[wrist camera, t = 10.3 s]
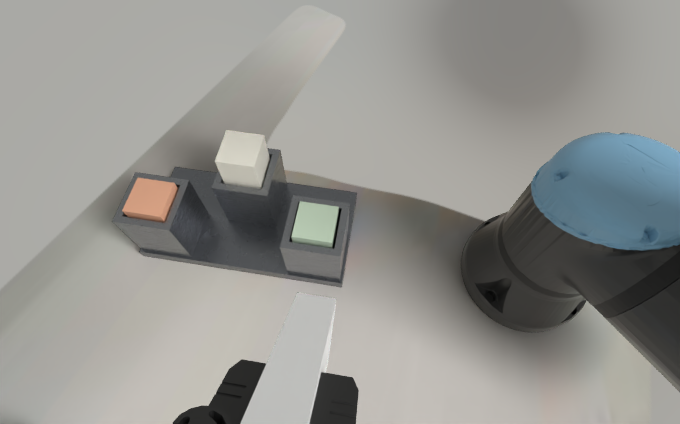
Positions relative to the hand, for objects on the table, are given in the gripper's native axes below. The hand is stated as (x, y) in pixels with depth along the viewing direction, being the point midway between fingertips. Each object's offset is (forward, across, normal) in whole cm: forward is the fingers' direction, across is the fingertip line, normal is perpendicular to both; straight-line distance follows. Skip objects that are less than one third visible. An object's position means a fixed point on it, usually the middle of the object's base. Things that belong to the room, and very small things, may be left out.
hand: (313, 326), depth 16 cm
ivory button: (+36, -13, -5) cm, 39 cm away
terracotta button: (+34, -23, -11) cm, 43 cm away
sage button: (+34, -4, -11) cm, 36 cm away
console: (+38, -14, -11) cm, 41 cm away
